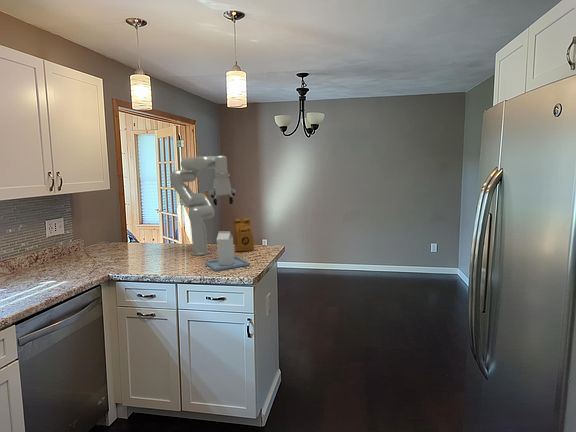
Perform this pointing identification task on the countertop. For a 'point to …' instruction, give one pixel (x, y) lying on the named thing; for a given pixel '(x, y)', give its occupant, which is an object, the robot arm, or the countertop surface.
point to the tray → (237, 264)
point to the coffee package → (243, 235)
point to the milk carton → (225, 248)
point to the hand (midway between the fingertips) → (223, 204)
